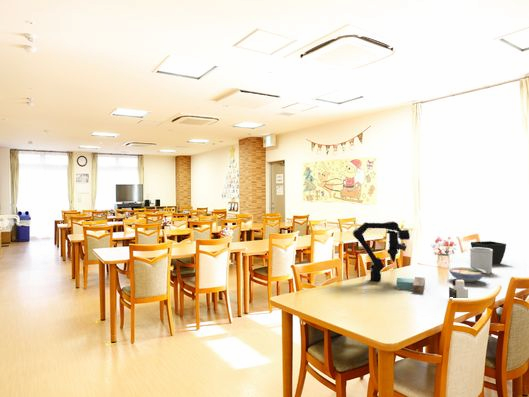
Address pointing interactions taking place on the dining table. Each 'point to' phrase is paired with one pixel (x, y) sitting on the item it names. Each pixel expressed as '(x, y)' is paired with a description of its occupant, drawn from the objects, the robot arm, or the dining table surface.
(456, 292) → the medicine bottle
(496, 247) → the flower pot
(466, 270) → the ramen bowl
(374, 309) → the dining table surface
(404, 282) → the teal block
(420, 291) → the brown bar
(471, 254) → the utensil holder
